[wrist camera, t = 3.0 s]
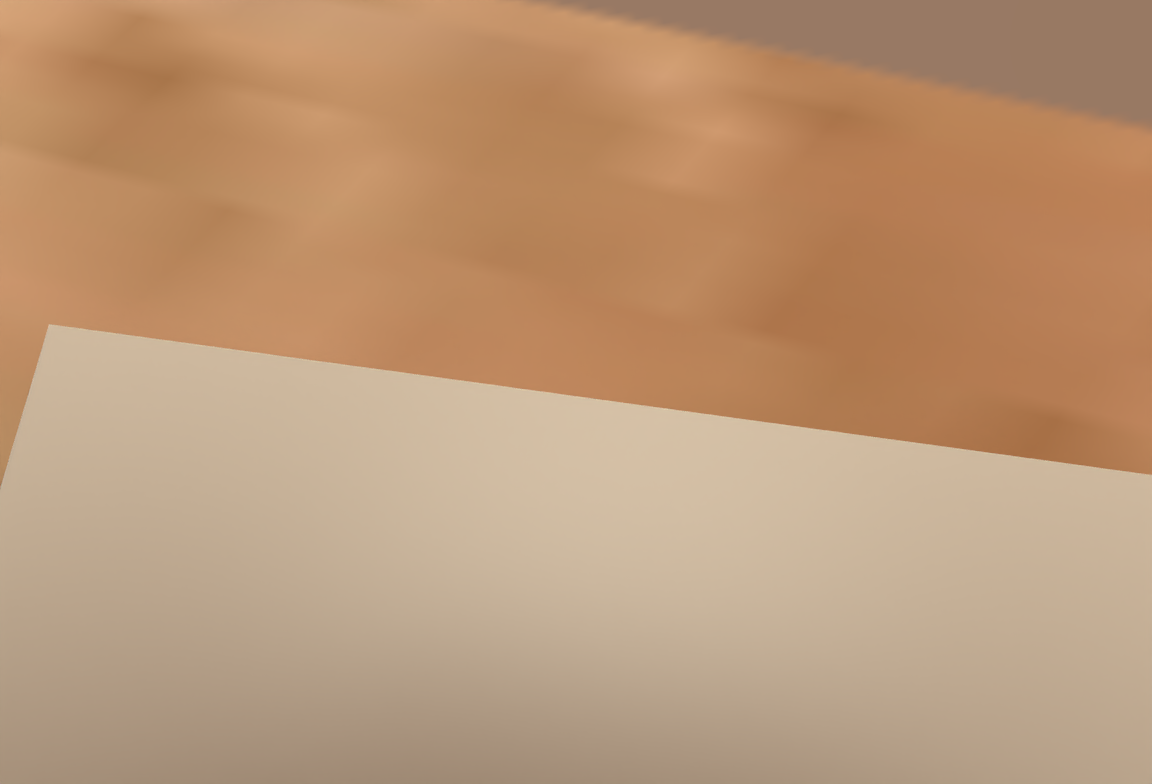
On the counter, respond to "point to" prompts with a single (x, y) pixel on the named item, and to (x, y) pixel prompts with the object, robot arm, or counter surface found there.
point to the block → (541, 589)
